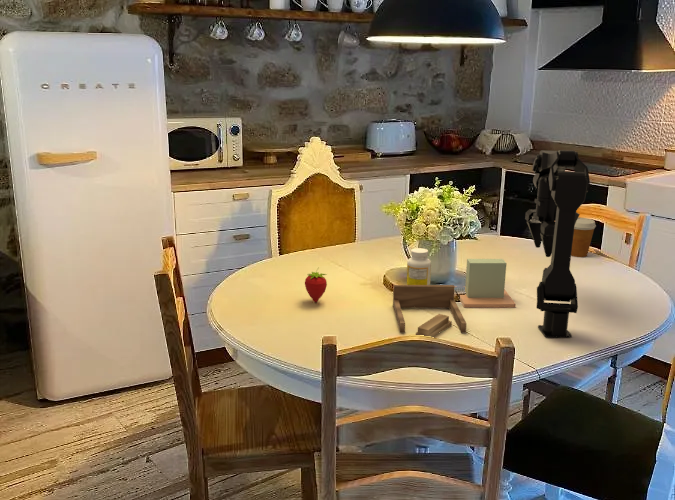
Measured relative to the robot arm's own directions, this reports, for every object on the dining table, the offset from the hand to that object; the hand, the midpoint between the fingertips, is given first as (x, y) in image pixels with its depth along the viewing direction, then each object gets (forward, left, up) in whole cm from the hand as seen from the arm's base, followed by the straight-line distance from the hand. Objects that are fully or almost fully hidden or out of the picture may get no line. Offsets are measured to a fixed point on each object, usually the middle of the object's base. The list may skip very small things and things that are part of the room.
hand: (542, 252), depth 187 cm
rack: (-16, +34, -13) cm, 40 cm away
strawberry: (-5, +63, -13) cm, 65 cm away
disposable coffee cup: (+41, -26, -13) cm, 50 cm away
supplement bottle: (+2, +34, -13) cm, 37 cm away
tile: (-2, +16, -13) cm, 21 cm away
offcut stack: (-25, +34, -13) cm, 44 cm away
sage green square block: (-2, +16, -12) cm, 20 cm away
